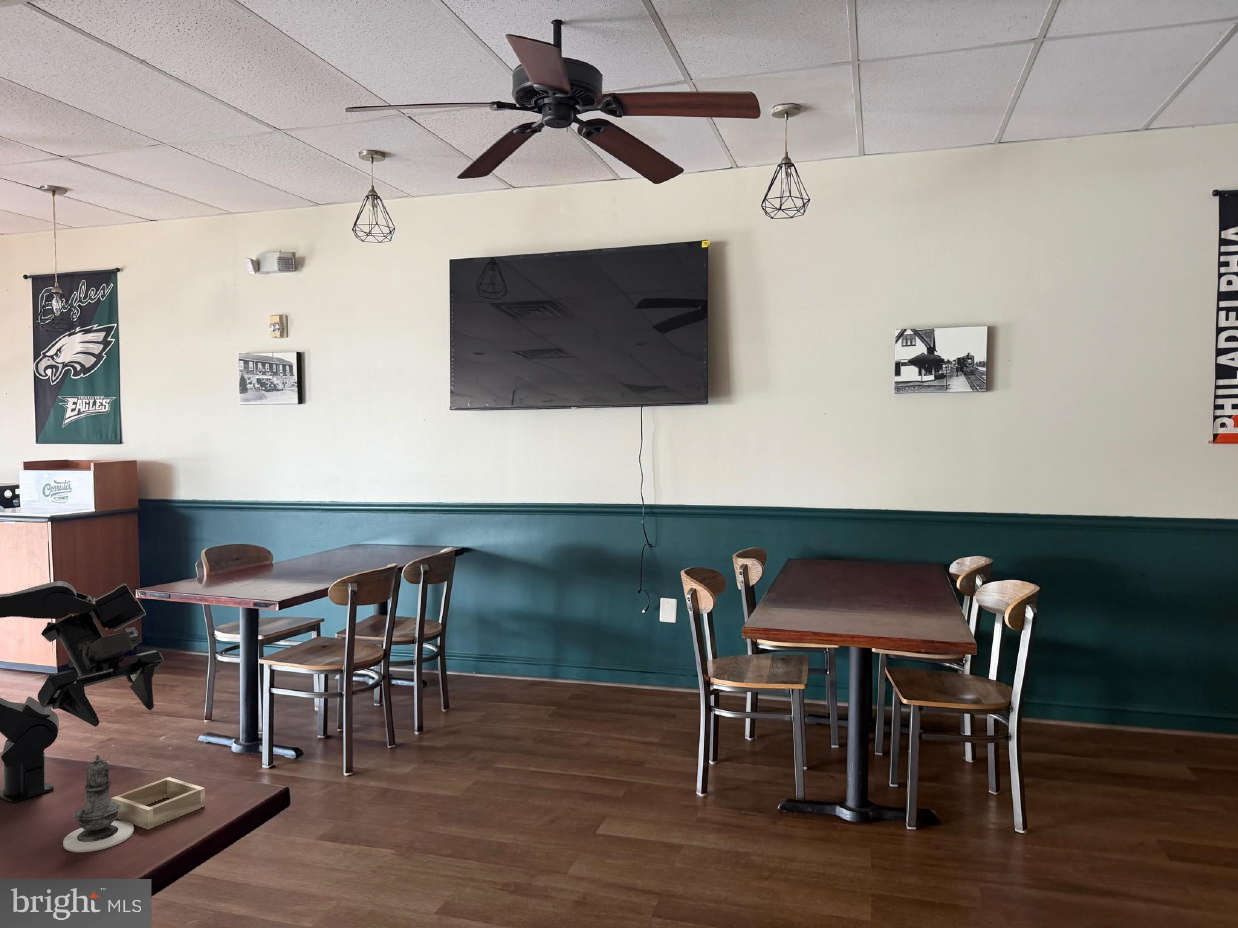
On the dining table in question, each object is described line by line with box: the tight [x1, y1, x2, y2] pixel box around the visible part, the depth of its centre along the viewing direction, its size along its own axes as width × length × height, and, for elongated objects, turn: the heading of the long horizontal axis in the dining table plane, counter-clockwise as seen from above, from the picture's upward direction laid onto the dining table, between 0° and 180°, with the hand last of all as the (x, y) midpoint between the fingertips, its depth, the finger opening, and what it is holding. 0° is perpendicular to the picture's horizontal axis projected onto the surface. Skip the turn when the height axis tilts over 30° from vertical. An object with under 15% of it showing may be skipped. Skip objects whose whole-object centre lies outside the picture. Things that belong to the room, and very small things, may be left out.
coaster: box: [62, 820, 135, 853], centre depth 123 cm, size 9×9×1 cm
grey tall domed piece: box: [74, 754, 121, 842], centre depth 123 cm, size 6×6×12 cm
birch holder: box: [110, 776, 206, 830], centre depth 133 cm, size 10×10×3 cm
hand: (125, 716), depth 138 cm, fingers open, 9 cm apart
